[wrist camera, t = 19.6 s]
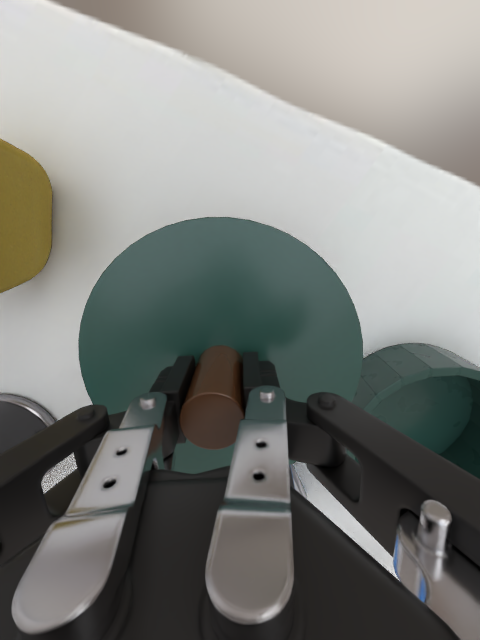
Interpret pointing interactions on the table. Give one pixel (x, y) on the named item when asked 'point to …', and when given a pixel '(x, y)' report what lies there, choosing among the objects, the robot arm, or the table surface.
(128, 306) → the lid
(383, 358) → the bowl
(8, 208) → the flower pot
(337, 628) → the robot arm
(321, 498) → the table surface
